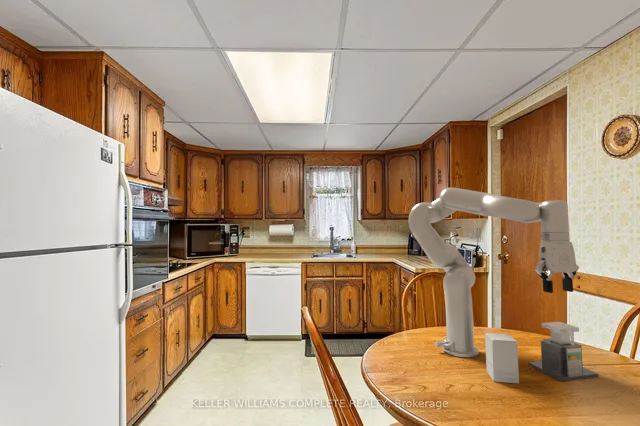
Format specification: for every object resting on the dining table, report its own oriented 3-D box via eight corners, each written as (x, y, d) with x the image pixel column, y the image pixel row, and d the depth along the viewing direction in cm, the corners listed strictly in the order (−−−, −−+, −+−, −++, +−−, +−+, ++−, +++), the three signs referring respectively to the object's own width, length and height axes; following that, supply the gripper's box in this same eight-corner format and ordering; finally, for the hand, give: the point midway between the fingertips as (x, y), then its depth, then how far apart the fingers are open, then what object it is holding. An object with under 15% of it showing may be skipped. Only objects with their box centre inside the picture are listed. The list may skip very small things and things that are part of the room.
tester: (560, 381, 99) (558, 351, 99) (528, 365, 111) (527, 338, 111) (598, 377, 101) (597, 347, 102) (563, 361, 113) (562, 335, 114)
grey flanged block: (568, 362, 100) (567, 331, 100) (542, 350, 109) (541, 323, 110) (587, 360, 101) (586, 330, 102) (560, 349, 110) (559, 321, 111)
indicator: (572, 360, 100) (572, 357, 100) (569, 359, 101) (569, 356, 101) (576, 359, 100) (576, 357, 100) (574, 358, 101) (574, 356, 101)
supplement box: (519, 383, 98) (518, 341, 99) (493, 381, 99) (491, 339, 100) (510, 373, 105) (509, 333, 106) (485, 371, 107) (484, 332, 107)
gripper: (542, 238, 103) (545, 295, 102) (588, 237, 106) (591, 292, 105) (523, 237, 110) (526, 290, 110) (567, 236, 113) (569, 288, 113)
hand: (558, 291), depth 107 cm, fingers open, 7 cm apart
